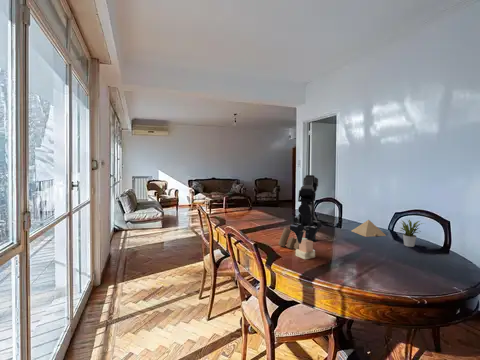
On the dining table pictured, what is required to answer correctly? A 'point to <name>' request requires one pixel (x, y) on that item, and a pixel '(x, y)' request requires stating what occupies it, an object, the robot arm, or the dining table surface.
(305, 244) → the terracotta cube
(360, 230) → the model pyramid
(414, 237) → the house plant
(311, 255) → the maple base
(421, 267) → the dining table surface
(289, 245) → the wooden block set
